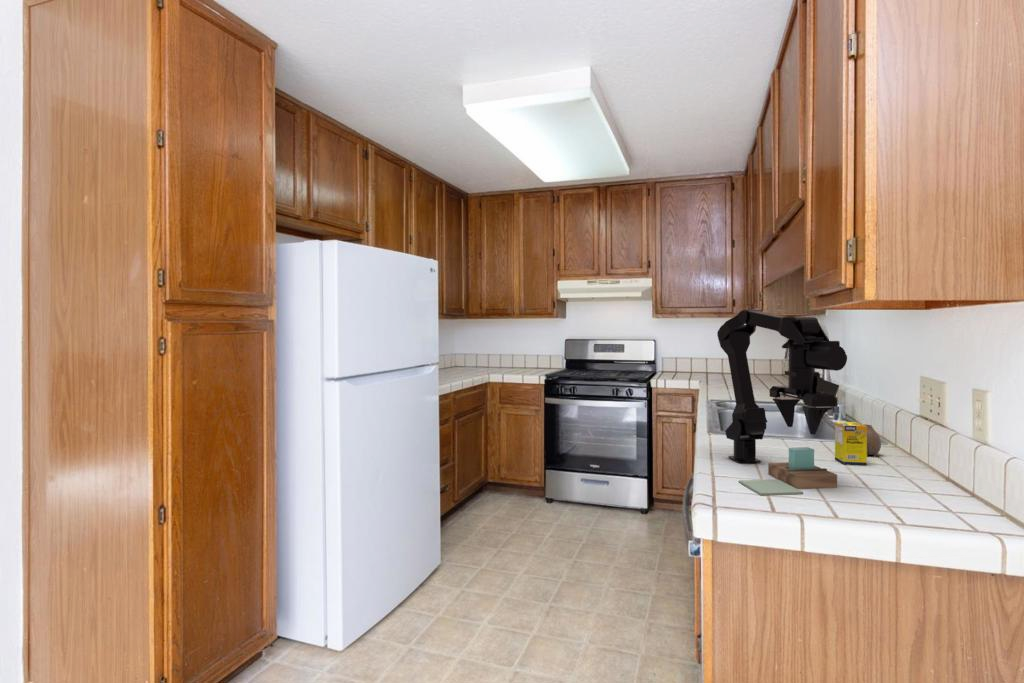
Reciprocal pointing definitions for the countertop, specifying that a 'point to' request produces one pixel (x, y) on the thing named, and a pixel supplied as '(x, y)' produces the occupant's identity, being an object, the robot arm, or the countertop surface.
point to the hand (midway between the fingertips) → (801, 430)
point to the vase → (872, 441)
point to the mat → (770, 487)
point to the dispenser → (803, 476)
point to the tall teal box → (801, 458)
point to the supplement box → (851, 443)
